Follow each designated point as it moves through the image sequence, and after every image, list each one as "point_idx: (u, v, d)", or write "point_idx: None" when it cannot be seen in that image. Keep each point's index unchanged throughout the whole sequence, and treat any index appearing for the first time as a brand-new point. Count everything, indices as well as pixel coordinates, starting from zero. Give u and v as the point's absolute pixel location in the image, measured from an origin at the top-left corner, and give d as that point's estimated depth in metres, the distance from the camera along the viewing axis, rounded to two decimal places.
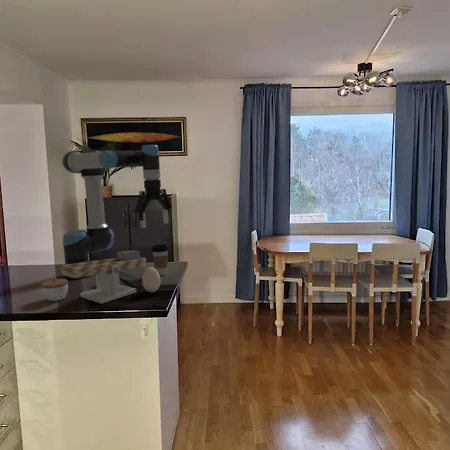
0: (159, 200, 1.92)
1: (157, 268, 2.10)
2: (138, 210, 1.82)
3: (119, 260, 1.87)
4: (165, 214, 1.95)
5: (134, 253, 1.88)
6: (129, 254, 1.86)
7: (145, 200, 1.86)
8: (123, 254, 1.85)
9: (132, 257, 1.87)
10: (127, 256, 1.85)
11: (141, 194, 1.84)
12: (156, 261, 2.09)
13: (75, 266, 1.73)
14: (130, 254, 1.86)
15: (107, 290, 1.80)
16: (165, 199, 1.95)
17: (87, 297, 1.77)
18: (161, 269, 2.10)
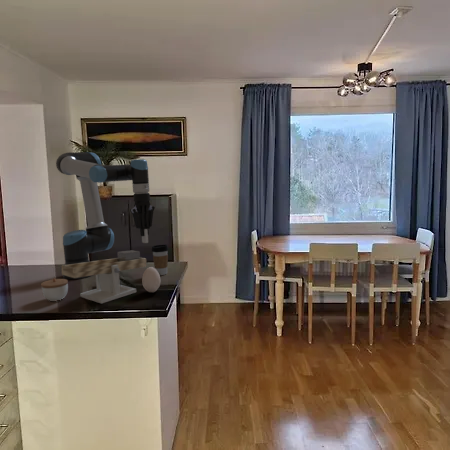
0: (144, 215, 1.94)
1: (157, 268, 2.10)
2: (139, 227, 1.91)
3: (119, 260, 1.87)
4: None
5: (134, 253, 1.88)
6: (129, 254, 1.86)
7: (139, 215, 1.93)
8: (123, 254, 1.85)
9: (132, 257, 1.87)
10: (127, 256, 1.85)
11: (133, 212, 1.89)
12: (156, 261, 2.09)
13: (75, 266, 1.73)
14: (130, 254, 1.86)
15: (107, 290, 1.80)
16: (149, 216, 1.96)
17: (87, 297, 1.77)
18: (161, 269, 2.10)
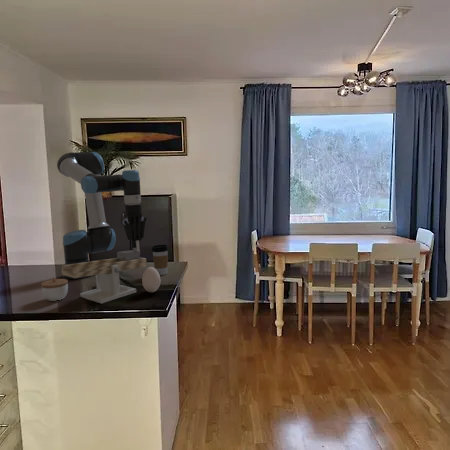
0: (136, 226, 1.91)
1: (157, 268, 2.10)
2: (131, 239, 1.88)
3: (119, 260, 1.87)
4: None
5: (134, 253, 1.88)
6: (129, 254, 1.86)
7: (131, 227, 1.90)
8: (123, 254, 1.85)
9: (132, 257, 1.87)
10: (126, 256, 1.85)
11: (124, 224, 1.86)
12: (156, 261, 2.09)
13: (75, 266, 1.73)
14: (130, 254, 1.86)
15: (107, 290, 1.80)
16: (141, 227, 1.93)
17: (87, 297, 1.77)
18: (161, 269, 2.10)
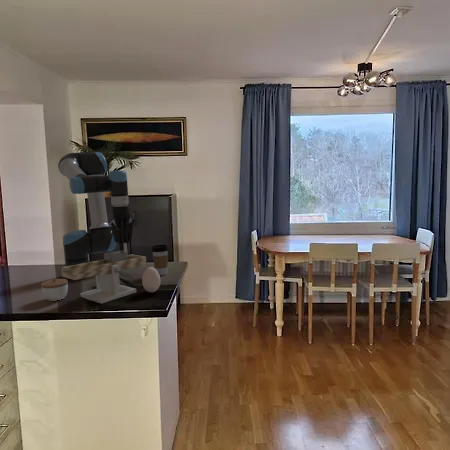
0: (123, 228, 1.86)
1: (157, 268, 2.10)
2: (118, 241, 1.83)
3: (106, 262, 1.82)
4: None
5: (121, 254, 1.82)
6: (116, 255, 1.80)
7: (118, 229, 1.84)
8: (109, 256, 1.80)
9: (119, 258, 1.82)
10: (113, 258, 1.79)
11: (111, 226, 1.81)
12: (156, 261, 2.09)
13: (75, 267, 1.73)
14: (117, 255, 1.81)
15: (107, 290, 1.80)
16: (129, 229, 1.88)
17: (87, 297, 1.77)
18: (161, 269, 2.10)
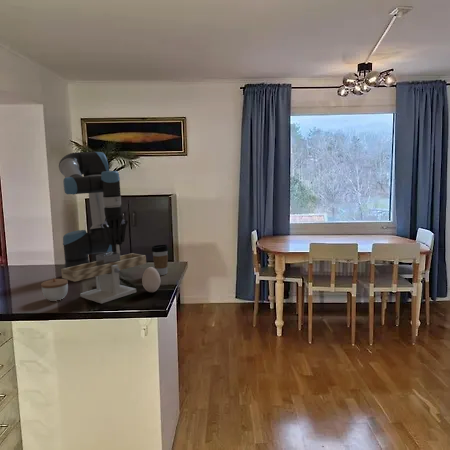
0: (116, 229, 1.83)
1: (157, 268, 2.10)
2: (110, 243, 1.80)
3: (98, 263, 1.79)
4: None
5: (113, 255, 1.79)
6: (108, 257, 1.77)
7: (110, 230, 1.81)
8: (101, 257, 1.77)
9: (111, 260, 1.79)
10: (105, 260, 1.76)
11: (103, 227, 1.78)
12: (156, 261, 2.09)
13: (75, 268, 1.73)
14: (109, 257, 1.78)
15: (107, 290, 1.80)
16: (122, 231, 1.85)
17: (87, 297, 1.77)
18: (161, 269, 2.10)
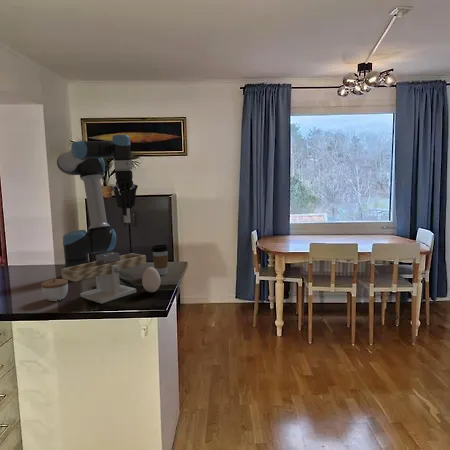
0: (126, 193, 1.86)
1: (157, 268, 2.10)
2: (121, 206, 1.83)
3: (98, 263, 1.79)
4: None
5: (113, 255, 1.79)
6: (108, 257, 1.77)
7: (121, 194, 1.84)
8: (101, 257, 1.77)
9: (111, 260, 1.79)
10: (105, 260, 1.76)
11: (114, 190, 1.81)
12: (156, 261, 2.09)
13: (75, 268, 1.73)
14: (109, 257, 1.78)
15: (107, 290, 1.80)
16: (132, 195, 1.88)
17: (87, 297, 1.77)
18: (161, 269, 2.10)
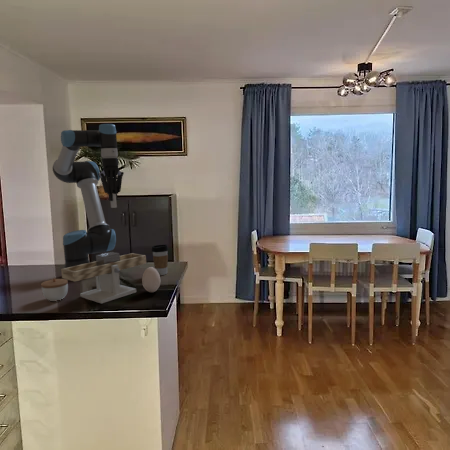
0: (113, 180, 1.96)
1: (157, 268, 2.10)
2: (107, 191, 1.93)
3: (98, 263, 1.79)
4: None
5: (113, 255, 1.79)
6: (108, 257, 1.77)
7: (108, 180, 1.95)
8: (101, 257, 1.77)
9: (111, 260, 1.79)
10: (105, 260, 1.76)
11: (101, 176, 1.91)
12: (156, 261, 2.09)
13: (75, 268, 1.73)
14: (109, 257, 1.78)
15: (107, 290, 1.80)
16: (118, 181, 1.99)
17: (87, 297, 1.77)
18: (161, 269, 2.10)
